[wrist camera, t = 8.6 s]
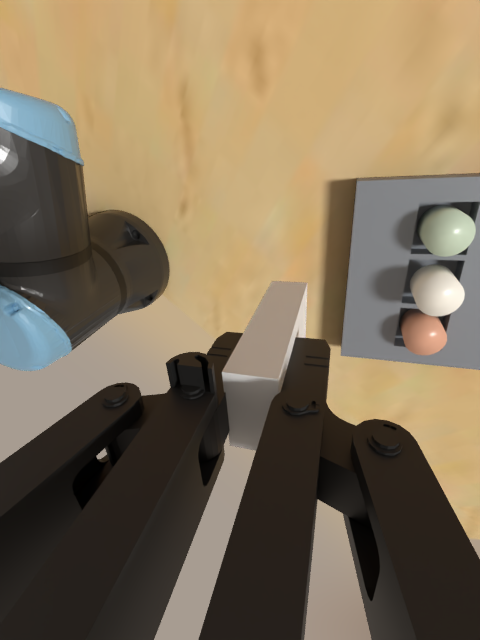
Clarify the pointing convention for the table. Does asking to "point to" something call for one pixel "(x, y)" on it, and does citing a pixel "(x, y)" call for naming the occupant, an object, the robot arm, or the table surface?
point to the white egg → (436, 290)
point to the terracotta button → (422, 332)
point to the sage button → (446, 230)
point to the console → (408, 268)
